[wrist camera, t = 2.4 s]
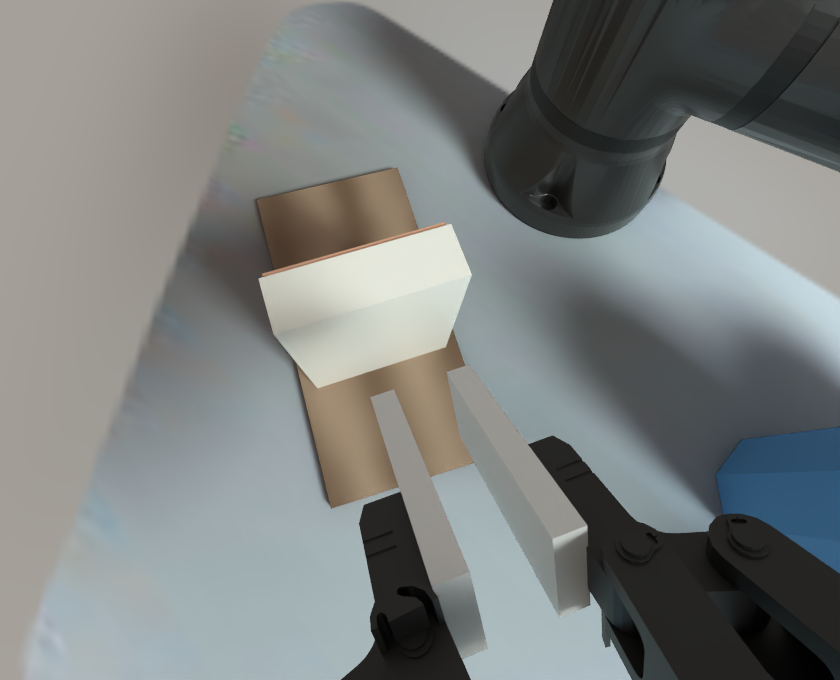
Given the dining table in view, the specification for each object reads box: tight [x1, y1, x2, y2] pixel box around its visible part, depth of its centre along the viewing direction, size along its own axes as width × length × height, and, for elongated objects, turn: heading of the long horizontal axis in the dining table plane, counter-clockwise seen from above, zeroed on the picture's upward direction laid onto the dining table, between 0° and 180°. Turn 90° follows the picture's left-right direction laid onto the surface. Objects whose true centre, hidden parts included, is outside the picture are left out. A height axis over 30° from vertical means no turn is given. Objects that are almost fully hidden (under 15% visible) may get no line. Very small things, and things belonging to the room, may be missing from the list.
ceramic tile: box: [259, 222, 472, 388], centre depth 30 cm, size 3×10×13 cm, turn 109°
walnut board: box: [257, 168, 474, 508], centre depth 37 cm, size 12×25×1 cm, turn 17°
